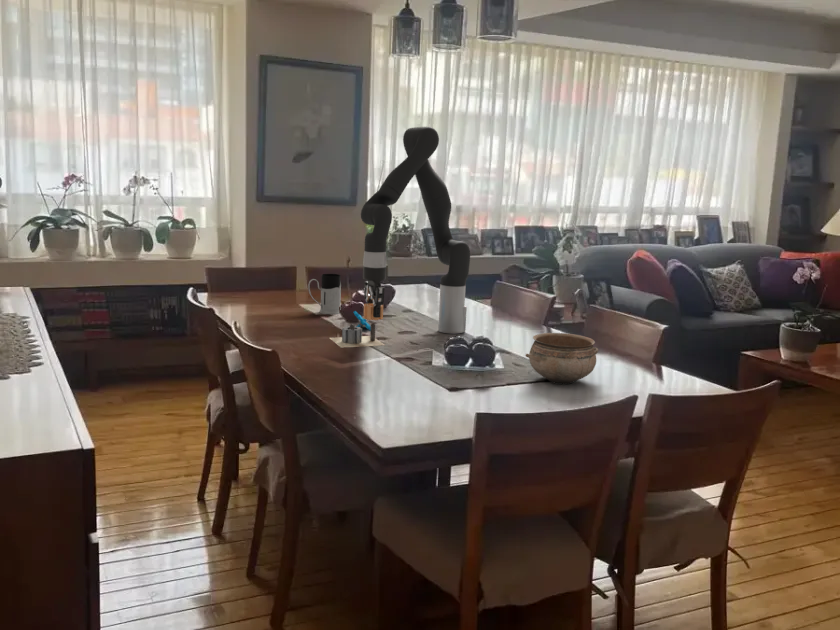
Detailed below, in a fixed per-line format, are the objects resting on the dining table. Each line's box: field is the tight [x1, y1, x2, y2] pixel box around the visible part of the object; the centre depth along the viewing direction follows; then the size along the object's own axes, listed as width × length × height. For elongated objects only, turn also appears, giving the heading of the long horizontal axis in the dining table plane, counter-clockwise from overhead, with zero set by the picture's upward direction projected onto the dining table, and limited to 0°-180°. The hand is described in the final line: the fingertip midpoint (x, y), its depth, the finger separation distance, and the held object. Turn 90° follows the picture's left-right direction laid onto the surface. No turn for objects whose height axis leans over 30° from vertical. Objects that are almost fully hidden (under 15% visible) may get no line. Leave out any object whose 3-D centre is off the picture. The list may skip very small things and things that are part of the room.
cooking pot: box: [524, 332, 599, 385], centre depth 218 cm, size 25×19×12 cm
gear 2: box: [363, 303, 384, 321], centre depth 252 cm, size 6×6×4 cm
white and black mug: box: [307, 273, 342, 315], centre depth 303 cm, size 9×14×15 cm, turn 124°
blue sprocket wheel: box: [353, 310, 371, 331], centre depth 272 cm, size 11×6×10 cm
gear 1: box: [341, 326, 363, 344], centre depth 251 cm, size 6×6×4 cm
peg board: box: [329, 322, 385, 349], centre depth 252 cm, size 15×14×7 cm
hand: (373, 315), depth 252 cm, fingers closed on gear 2, 6 cm apart
